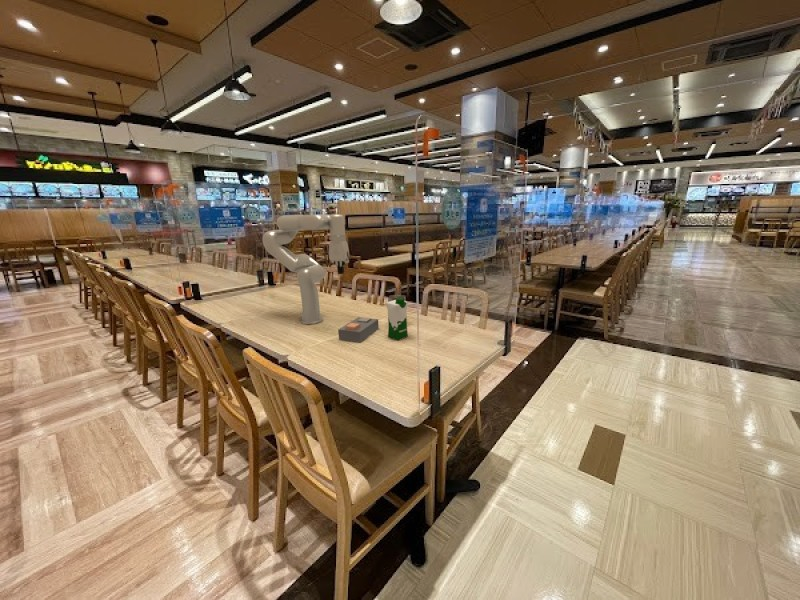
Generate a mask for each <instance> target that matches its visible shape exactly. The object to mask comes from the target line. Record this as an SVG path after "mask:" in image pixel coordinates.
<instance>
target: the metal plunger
mask: <svg viewBox="0 0 800 600" xmlns="http://www.w3.org/2000/svg"><path fill="white" fill-rule="evenodd" d="M371 319H372V317H362V318H361V319H359V320H358V322H364V323H367V322H369V321H370V320H371Z"/></svg>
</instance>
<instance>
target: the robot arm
mask: <svg viewBox="0 0 800 600" xmlns="http://www.w3.org/2000/svg"><path fill="white" fill-rule="evenodd" d="M344 217H345V216H344V215H343V214H322V213H321V214H286V215H285V214H284V215H280V216H279V217H277V220H276V226H277V228H278V229H273V230H268V231H266V232H264V233H263V235H262V238H261V239H262V244H263V247H264V249H265V250H266V252H267V253H269V254H270V255H271V256H272V257H274V258H275V259H276V260H277V261H278V262H279V263H280V264H282V265H283V266H284V267H285V268H286V269H288V270H289V271H290V272H292V273H297V274H296V279H297V281H298V282H297V283H298V286H299V290H300V297H301V298H300V300H301V305H302V307H301V309H302V312H300V313H299V315H298V317H299V318H301V320H300V322H301V324H303V325H317V324H320V323H322V322H323V321H324V317H323V316H321V308H320V300H319V299H320V298H319V297H320V296H319V290H318V287H317V285H316V283H317V282H321V281H323V280H324V278H325V276H326V271H325V269H324V268H323V267H322V265H321V264H320V263H318V261H316V260H314V258H312V257H311V256H310V255H308V254H306V253H300V254H295V253H294V252H293V251H291V250H290V249H289V248H287V247H285V246H283V245H287V244H290V243H291V242H292V241H293V240H294V239H295V237H296V236H297V234H298V233H299V232H300V231H321V230H329V231H330V232H329V233H330V236H329V238H328V239H329V240H330V241H329V245H328V246H329V247H328V257H329V261H330V263H331V264H334V265H335V266H336V267H337V268H336V269H337V271H336V272H337V274H338V275H343V274H345V270H344V268H345V265H346V264H349V263H350V249H349V244H348V241H347V240H346V228H345V218H344Z"/></svg>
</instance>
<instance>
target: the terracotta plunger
mask: <svg viewBox="0 0 800 600" xmlns="http://www.w3.org/2000/svg"><path fill="white" fill-rule="evenodd" d="M349 323H350V322H349ZM347 324H348V323H347ZM358 328H360V324H356V323H350V324H348V325H347V326H346V330H354V331H355V330H357V329H358Z"/></svg>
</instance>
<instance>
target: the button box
mask: <svg viewBox="0 0 800 600" xmlns="http://www.w3.org/2000/svg"><path fill="white" fill-rule="evenodd" d="M361 318H363V317H362V316H361V317H360V316H358V317H357V318H355V319H353V320H351V321H349V322H348V323H346V324H345V325H343V326H341V327H340V328H338V329H337V330H338V331H337V332H338V341H343V340H345V341H344V342H350V341H352V343H357V342H358V343H359V344H361V343H362V342H365V340H366V339H368V338H369V337H371V336H372V335H373V334H375V332H377V331H378V330H379V329H380V328H379V325H380V324H379V319H378V318H371V320H370V321H369V322H367V323H364V322H358V320H359V319H361ZM350 323H356V324H360V328H358V329H357V330H355V331H354V330H346V326H347V325H348V324H350Z"/></svg>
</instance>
